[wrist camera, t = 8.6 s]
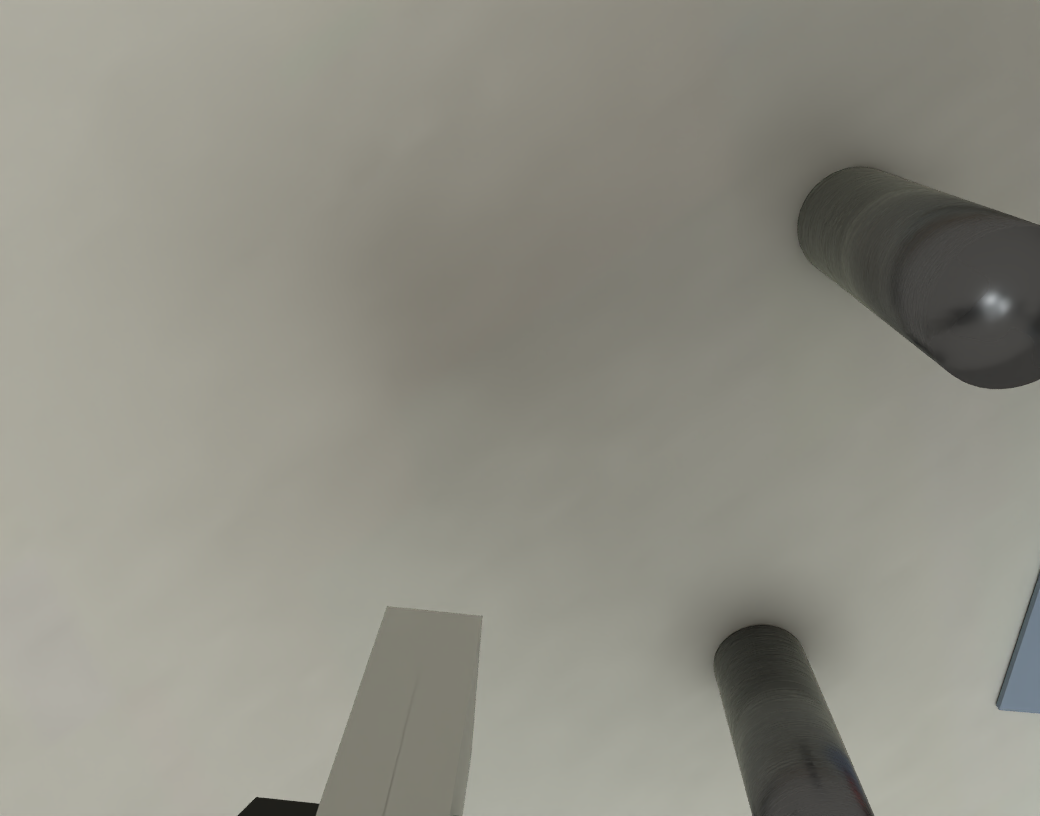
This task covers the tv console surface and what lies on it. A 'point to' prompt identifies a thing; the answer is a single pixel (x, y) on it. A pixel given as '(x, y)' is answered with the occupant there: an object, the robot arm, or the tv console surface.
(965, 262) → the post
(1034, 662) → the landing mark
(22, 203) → the tv console surface
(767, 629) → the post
